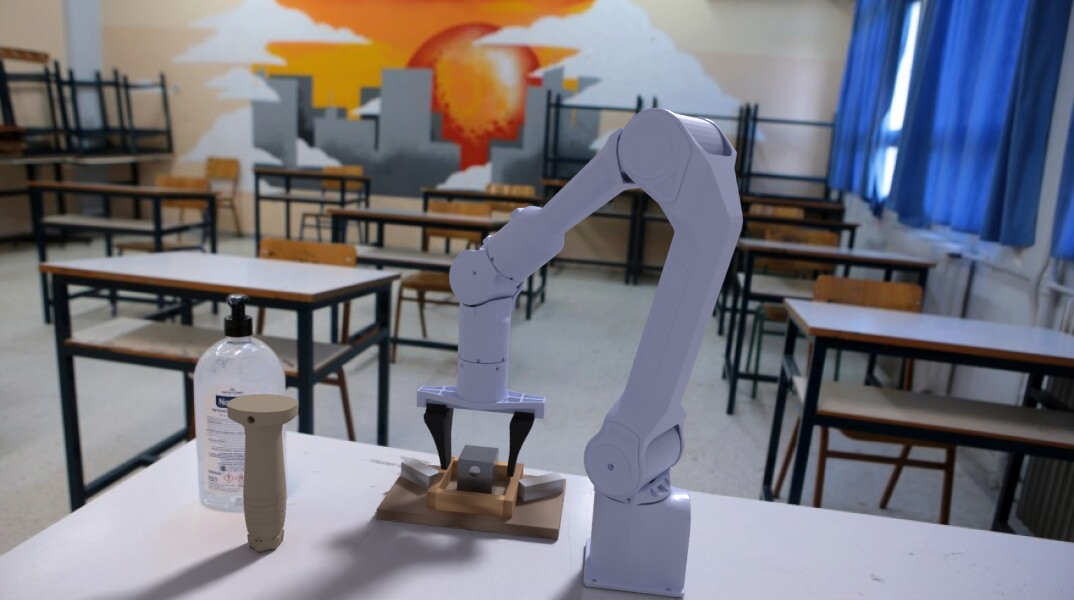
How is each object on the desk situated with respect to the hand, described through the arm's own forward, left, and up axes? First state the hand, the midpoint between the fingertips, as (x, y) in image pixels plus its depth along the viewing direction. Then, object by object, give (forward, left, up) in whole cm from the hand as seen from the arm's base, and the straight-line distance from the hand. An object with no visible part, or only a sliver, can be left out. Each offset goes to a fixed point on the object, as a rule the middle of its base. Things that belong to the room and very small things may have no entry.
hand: (478, 469), depth 78 cm
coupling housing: (0, 0, -4) cm, 4 cm away
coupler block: (0, 0, -3) cm, 3 cm away
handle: (+19, +13, -4) cm, 23 cm away
